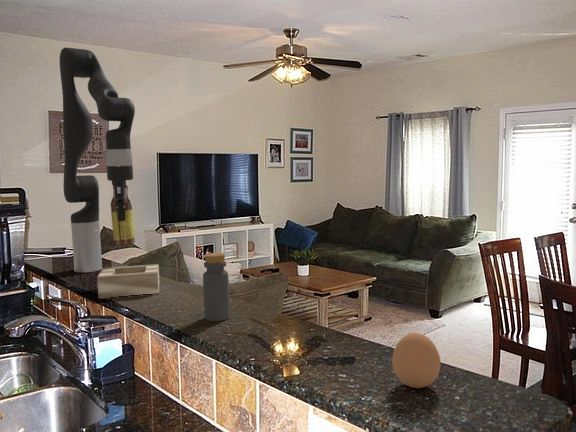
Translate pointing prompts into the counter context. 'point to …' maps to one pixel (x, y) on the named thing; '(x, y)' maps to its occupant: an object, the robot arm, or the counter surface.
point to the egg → (416, 360)
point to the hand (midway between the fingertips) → (122, 219)
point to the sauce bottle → (122, 222)
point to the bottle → (216, 288)
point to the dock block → (128, 281)
